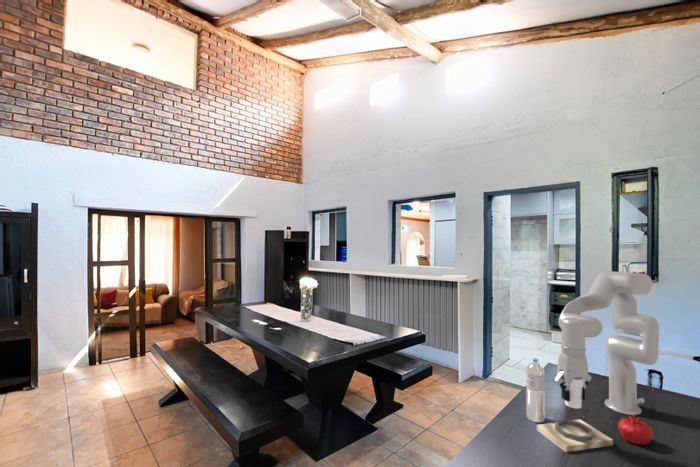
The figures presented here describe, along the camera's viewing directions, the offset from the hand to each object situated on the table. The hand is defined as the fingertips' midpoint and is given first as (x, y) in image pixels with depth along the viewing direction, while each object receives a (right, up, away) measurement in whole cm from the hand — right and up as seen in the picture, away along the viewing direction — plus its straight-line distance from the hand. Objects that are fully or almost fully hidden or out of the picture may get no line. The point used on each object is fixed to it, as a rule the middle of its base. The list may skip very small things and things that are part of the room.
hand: (573, 398), depth 129 cm
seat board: (0, -15, 0) cm, 15 cm away
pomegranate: (+22, -15, -2) cm, 27 cm away
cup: (0, -3, 0) cm, 3 cm away
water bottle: (-7, -15, +13) cm, 21 cm away
